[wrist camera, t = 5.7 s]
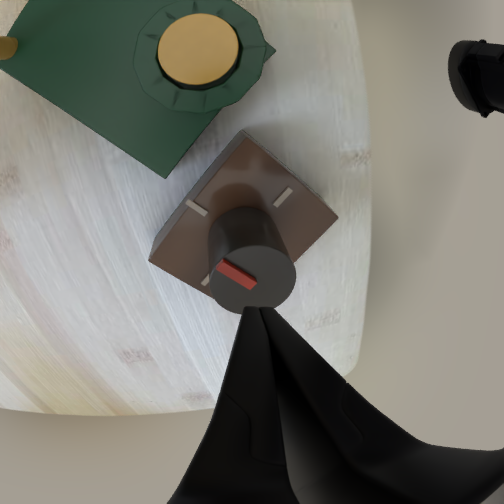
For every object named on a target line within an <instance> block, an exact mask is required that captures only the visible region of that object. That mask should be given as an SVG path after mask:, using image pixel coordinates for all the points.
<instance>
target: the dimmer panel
mask: <svg viewBox="0 0 504 504" xmlns="http://www.w3.org/2000/svg"><path fill="white" fill-rule="evenodd" d="M241 207H249V208H255V209H258V210H261V211H263V212H264V213H266V214H267V215H269V216H270V217H271V218H272V220H273V221H274V223H275V224H276V226H277V229H278V231H279V233H280V235H281V237H282V240H283V242H284V244H285V246H286V248H287V251H288V253H289V255H290V257H291V259H292V262H293V263H294V262H295V261H296V260H297V259H298V258H299V257H300V256H301V255H302V254H303V253H304V252H305V251H306V250H307V249H308V248H309V247H310V246H311V245H312V244H313V243H314V242H315V241H316V240H317V239H318V238H319V237H320V236H321V235H322V234H323V233H324V232H325V231H326V230H327V229H328V228H329V227H330V226H331V225H332V224H333V223H334V222H335V221H336V220H337V219H338V218H339V217H338V216H337V215H336V213H335V212H334V211H333V210H332V209H331V208H330V207H329V206H328V205H327V203H326V202H325V201H324V200H323V199H322V198H321V197H320V196H318V195H317V194H316V193H315V192H314V191H313V190H312V189H311V188H310V187H309V186H308V185H306V184H305V183H304V182H303V181H302V180H301V179H300V178H299V177H298V176H296V175H295V174H294V173H293V172H292V171H291V170H290V169H288V168H287V167H286V166H285V165H284V164H283V163H282V162H280V161H279V160H278V159H277V158H276V157H275V156H273V155H272V154H271V153H270V152H269V151H267V150H266V149H265V148H264V147H263V146H261V145H260V144H259V143H258V142H257V141H255V140H254V139H253V138H252V137H251V136H249V135H248V134H247V133H246V132H244V131H243V130H241V131H240V132H239V133H238V134H237V135H236V136H235V137H234V139H233V140H232V141H231V142H230V143H229V144H228V146H227V147H226V148H225V149H224V150H223V151H222V153H221V154H220V155H219V156H218V157H217V159H216V160H215V161H214V162H213V163H212V165H211V166H210V167H209V168H208V169H207V171H206V172H205V173H204V174H203V176H202V177H201V178H200V179H199V181H198V182H197V183H196V184H195V186H194V187H193V188H192V189H191V191H190V192H189V193H188V195H187V196H186V197H185V198H184V200H183V201H182V202H181V204H180V205H179V206H178V208H177V209H176V210H175V211H174V213H173V214H172V215H171V217H170V218H169V219H168V221H167V222H166V224H165V225H164V226H163V228H162V229H161V230H160V232H159V233H158V234H157V236H156V237H155V239H154V242H153V245H152V249H151V252H150V256H149V260H148V261H149V262H151V263H152V264H154V265H156V266H157V267H159V268H161V269H162V270H164V271H166V272H168V273H169V274H171V275H173V276H174V277H176V278H178V279H180V280H181V281H183V282H185V283H187V284H188V285H190V286H192V287H194V288H195V289H197V290H199V291H201V292H203V293H204V294H206V295H208V296H210V297H212V298H213V296H212V294H211V291H210V286H209V258H208V236H209V232H210V229H211V227H212V225H213V223H214V222H215V221H216V220H217V219H218V218H219V217H220V216H221V215H222V214H224V213H226V212H227V211H230V210H232V209H235V208H241ZM213 299H214V298H213Z"/></svg>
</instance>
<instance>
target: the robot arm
mask: <svg viewBox="0 0 504 504" xmlns="http://www.w3.org/2000/svg"><path fill="white" fill-rule="evenodd" d="M457 69H458V72H459V74H460V75H461V77H462V79H463V81H464V83H465V84H466V86H467V88H468V90H469V92H470V94H471V96H472V98H473V100H474V102H475V104H476V106H477V108H478V111H479V113H480V115H481V117H483V118H487V117H488V115H489V114H490V113H491V111H492V110H494V111H498V112H501V113H504V45H500V44H489V43H487V42H486V40H484V39H481V40H480V41H479V42H478V43H476V44H475V45H474V46H473V47H472V48H471V50H470V51H469V52H468V53H467V56H466V57H465V58H464V59H463V60H462V61H461V62H460V64H459V65H458V67H457ZM167 504H504V448H503V449H500V450H494V451H484V450H470V449H460V448H450V447H442V446H436V445H431V444H427V443H425V442H422V441H420V440H418V439H416V438H415V437H413V436H412V435H410V434H409V433H408V432H406V431H405V430H404V429H402V428H401V427H400V426H398V425H397V424H396V423H394V422H393V421H392V420H391V419H389V418H388V417H387V416H385V415H384V414H383V413H381V412H380V411H379V410H378V409H377V408H375V407H374V406H373V405H372V404H370V403H369V402H368V401H367V400H366V399H365V398H364V397H363V396H362V395H360V394H359V393H358V392H357V391H356V390H355V389H354V388H353V387H352V386H351V385H350V384H349V383H346V380H345V379H344V378H343V377H342V376H341V375H340V374H339V373H338V372H337V371H336V370H335V369H334V368H332V367H331V366H330V365H329V364H328V363H327V362H326V361H325V360H324V359H323V358H322V357H321V356H320V355H319V354H318V353H317V352H316V351H315V350H314V349H313V348H312V347H311V346H310V345H309V344H308V343H307V342H306V341H305V340H304V339H303V338H302V337H301V336H300V335H299V334H298V333H297V332H296V331H295V330H294V329H293V328H292V327H291V326H290V324H289V323H288V322H287V321H286V320H285V319H284V318H283V317H282V316H281V315H280V314H279V313H278V312H277V311H276V310H275V309H274V308H272V307H259V308H258V307H256V306H245V307H244V308H243V312H242V315H241V319H240V322H239V326H238V330H237V333H236V337H235V340H234V344H233V347H232V351H231V354H230V358H229V362H228V365H227V369H226V372H225V376H224V379H223V383H222V386H221V390H220V393H219V396H218V400H217V403H216V406H215V409H214V413H213V415H212V419H211V421H210V424H209V426H208V428H207V430H206V432H205V435H204V437H203V439H202V441H201V443H200V445H199V447H198V449H197V451H196V453H195V455H194V457H193V459H192V461H191V463H190V465H189V467H188V469H187V471H186V473H185V475H184V476H183V478H182V480H181V482H180V484H179V486H178V488H177V489H176V491H175V492H174V494H173V495H172V497H171V498H170V500H169V501H168V502H167Z"/></svg>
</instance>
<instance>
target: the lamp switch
mask: <svg viewBox="0 0 504 504" xmlns="http://www.w3.org/2000/svg"><path fill="white" fill-rule="evenodd" d="M237 54H238V39H237V36H236V33H235V31H234V30H233V28H232V27H231V26H230V25H229V24H228V23H227V22H226V21H225V20H223V19H221V18H219V17H217V16H214V15H211V14H202V13H199V14H191V15H187V16H184V17H182V18H180V19H178V20H176V21H175V22H174V23H172V24H171V25H170V26H169V27H168V28H167V29H166V30H165V32H164V33H163V35H162V37H161V39H160V41H159V45H158V58H159V62H160V64H161V66H162V68H163V69H164V71H165V72H166V73H167V74H168V75H169V76H170V77H172V78H173V79H175V80H177V81H179V82H182V83H185V84H190V85H204V84H208V83H211V82H214V81H216V80H218V79H219V78H221V77H222V76H223V75H224V74H225V73H227V72H228V71H229V69H230V68H231V67H232V65H233V64H234V62H235V60H236V58H237Z"/></svg>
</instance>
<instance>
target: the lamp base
mask: <svg viewBox="0 0 504 504" xmlns="http://www.w3.org/2000/svg"><path fill="white" fill-rule="evenodd" d="M199 13H202V14H211V15H214V16H217V17H219V18H221V19H223V20H225V21H226V22H227V23H228V24H229V25H230V26H231V27H232V28H233V30H234V31H235V33H236V36H237V39H238V54H237V58H236V60H235V62H234V64H233V65H232V67H231V68H230V69H229V71H228V72H227V73H225V74H224V75H223V76H222V77H221V78H219V79H218V80H216V81H214V82H211V83H208V84H204V85H190V84H185V83H182V82H179V81H177V80H175V79H173V78H172V77H170V76H169V75H168V74H167V73H166V72H165V71H164V69H163V68H162V66H161V64H160V62H159V58H158V45H159V41H160V39H161V37H162V35H163V33H164V32H165V30H166V29H167V28H168V27H169V26H170V25H171V24H172V23H174V22H175V21H176V20H178V19H180V18H182V17H184V16H187V15H191V14H199ZM7 37H15V38H16V39H17V41H18V47H17V50H16V52H15V54H14V55H13V56H12V57H11V58H10V59H7V60H0V69H1V70H3V71H4V72H6V73H8V74H9V75H11V76H12V77H14V78H15V79H17V80H18V81H20V82H21V83H23V84H24V85H26V86H27V87H29V88H30V89H32V90H33V91H35V92H36V93H38V94H40V95H41V96H43V97H44V98H46V99H47V100H49V101H50V102H52V103H53V104H55V105H56V106H58V107H59V108H61V109H62V110H64V111H65V112H67V113H68V114H70V115H71V116H73V117H74V118H76V119H77V120H79V121H80V122H82V123H83V124H85V125H86V126H88V127H89V128H91V129H92V130H94V131H95V132H96V133H98V134H99V135H101V136H102V137H104V138H105V139H107V140H108V141H110V142H111V143H113V144H114V145H116V146H117V147H119V148H120V149H122V150H123V151H125V152H126V153H128V154H129V155H130V156H132V157H133V158H135V159H136V160H138V161H139V162H141V163H142V164H144V165H145V166H147V167H148V168H150V169H151V170H152V171H154V172H155V173H157V174H158V175H160V176H161V177H163V178H164V179H166V178H167V177H168V175H169V174H170V173H171V171H172V170H173V169H174V167H175V166H176V165H177V163H178V162H179V161H180V159H181V158H182V157H183V155H184V154H185V153H186V152H187V150H188V149H189V148H190V147H191V145H192V144H193V143H194V142H195V140H196V139H197V138H198V137H199V135H200V134H201V133H202V132H203V130H204V129H205V128H206V127H207V126H208V124H209V123H210V122H211V121H212V120H213V118H214V117H215V116H216V115H217V114H218V113H219V111H220V110H221V109H222V108H223V107H225V106H228V105H231V104H233V103H236V102H237V101H239V100H240V99H241V98H242V97H243V96H244V95H245V93H246V92H247V91H248V90H249V89H250V88H251V87H252V86H253V85H254V84H255V83H256V82H257V81H258V80H259V78H260V76H261V73H262V68H263V64H264V63H265V62H266V61H267V60H268V59H269V58H270V57H271V56H272V55H273V54H274V53H275V52H276V49H274V48H273V47H272V46H271V45H270V44H268V43H267V42H266V41H265V39H264V37H263V34H262V31H261V29H260V26H259V24H258V21H257V19H256V18H255V17H254V16H253V15H251V14H250V13H249V12H247V11H246V10H245V9H243V8H242V7H240V6H239V5H238V4H236V3H235V2H233V1H232V0H29V1H28V3H27V4H26V6H25V7H24V8H23V10H22V11H21V13H20V15H19V16H18V18H17V19H16V21H15V22H14V24H13V26H12V27H11V29H10V31H9V33H8V34H7Z"/></svg>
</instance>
